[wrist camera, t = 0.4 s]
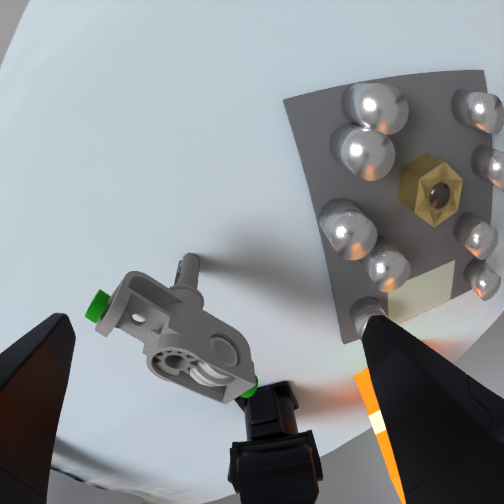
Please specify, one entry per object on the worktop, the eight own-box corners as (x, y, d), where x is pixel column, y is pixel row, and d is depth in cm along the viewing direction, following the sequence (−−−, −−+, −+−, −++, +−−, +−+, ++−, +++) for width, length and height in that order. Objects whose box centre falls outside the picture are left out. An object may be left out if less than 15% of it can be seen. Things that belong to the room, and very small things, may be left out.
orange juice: (353, 375, 33) (403, 524, 15) (416, 338, 31) (489, 479, 13) (370, 396, 36) (413, 519, 19) (425, 365, 34) (482, 483, 17)
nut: (449, 191, 21) (468, 203, 19) (405, 221, 22) (421, 236, 20) (436, 145, 19) (457, 154, 17) (388, 175, 20) (405, 187, 18)
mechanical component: (145, 208, 20) (97, 298, 12) (252, 284, 24) (268, 388, 16) (124, 237, 21) (76, 332, 13) (228, 306, 25) (234, 409, 17)
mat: (478, 281, 27) (481, 283, 27) (342, 340, 29) (343, 344, 28) (478, 69, 16) (483, 70, 15) (282, 100, 17) (284, 100, 17)
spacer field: (482, 274, 26) (499, 292, 23) (342, 335, 28) (353, 362, 25) (482, 70, 15) (511, 74, 12) (284, 100, 17) (297, 102, 14)
